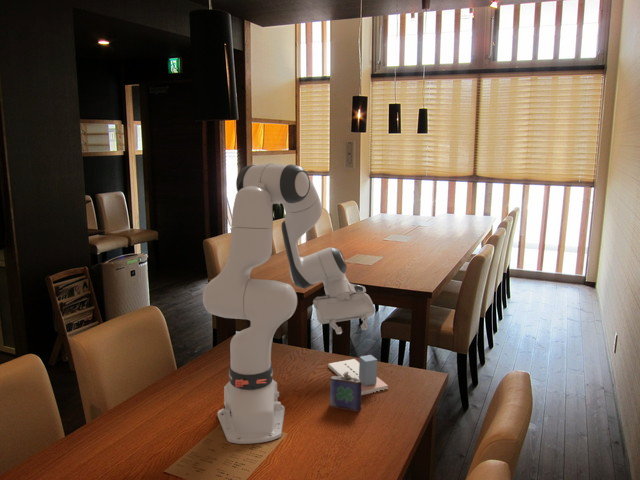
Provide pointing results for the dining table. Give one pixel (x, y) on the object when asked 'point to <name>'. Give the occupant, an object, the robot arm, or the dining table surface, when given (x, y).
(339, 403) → the flask
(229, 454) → the dining table surface
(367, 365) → the grey rectangular block
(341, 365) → the board
